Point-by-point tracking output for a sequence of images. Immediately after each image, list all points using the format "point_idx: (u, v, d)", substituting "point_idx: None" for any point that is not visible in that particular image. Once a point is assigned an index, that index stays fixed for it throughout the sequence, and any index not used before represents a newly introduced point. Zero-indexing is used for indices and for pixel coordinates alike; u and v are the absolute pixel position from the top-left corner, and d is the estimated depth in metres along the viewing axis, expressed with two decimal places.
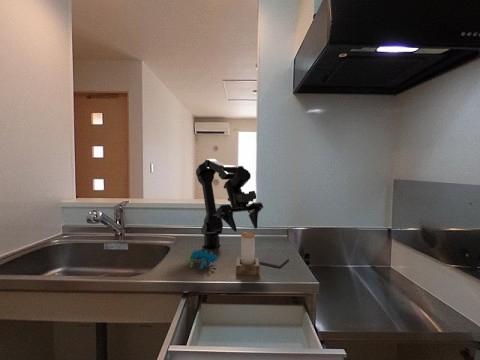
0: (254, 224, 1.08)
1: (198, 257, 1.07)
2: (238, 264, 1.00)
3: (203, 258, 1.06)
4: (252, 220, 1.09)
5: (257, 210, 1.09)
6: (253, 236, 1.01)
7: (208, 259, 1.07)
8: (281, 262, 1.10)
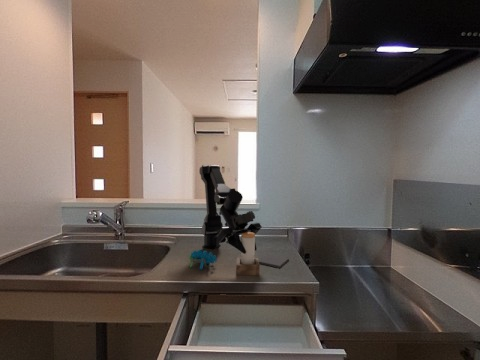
0: None
1: (198, 257, 1.07)
2: (238, 264, 1.00)
3: (202, 258, 1.05)
4: None
5: (253, 231, 1.06)
6: (253, 236, 1.01)
7: (208, 259, 1.07)
8: (281, 262, 1.10)
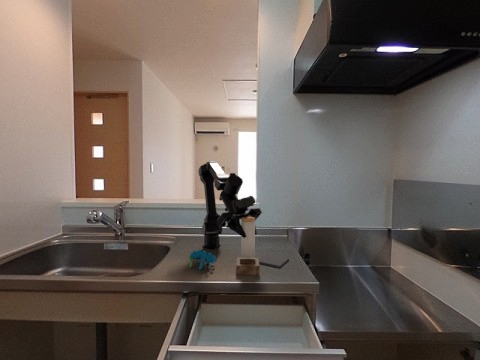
0: None
1: (197, 257, 1.07)
2: (238, 264, 1.00)
3: (202, 258, 1.05)
4: None
5: (253, 216, 1.05)
6: (253, 220, 1.00)
7: (207, 260, 1.07)
8: (281, 262, 1.10)
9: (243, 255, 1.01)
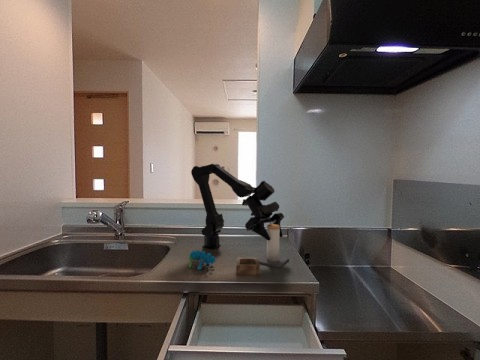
0: (279, 233, 1.15)
1: (197, 257, 1.06)
2: (238, 264, 1.00)
3: (201, 259, 1.05)
4: None
5: (279, 220, 1.16)
6: (278, 228, 1.11)
7: (207, 260, 1.06)
8: (281, 262, 1.10)
9: (269, 259, 1.11)
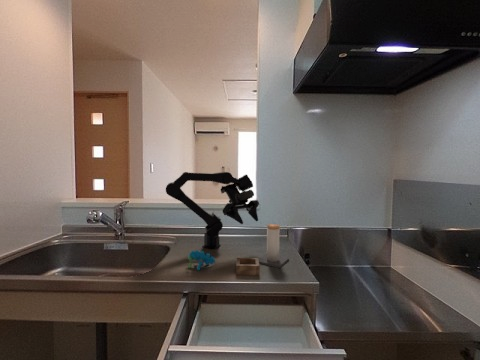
0: (255, 218, 1.28)
1: (196, 258, 1.06)
2: (238, 264, 1.00)
3: (200, 259, 1.04)
4: (252, 215, 1.29)
5: (255, 206, 1.29)
6: (278, 228, 1.11)
7: (206, 260, 1.06)
8: (281, 262, 1.10)
9: (269, 259, 1.11)
